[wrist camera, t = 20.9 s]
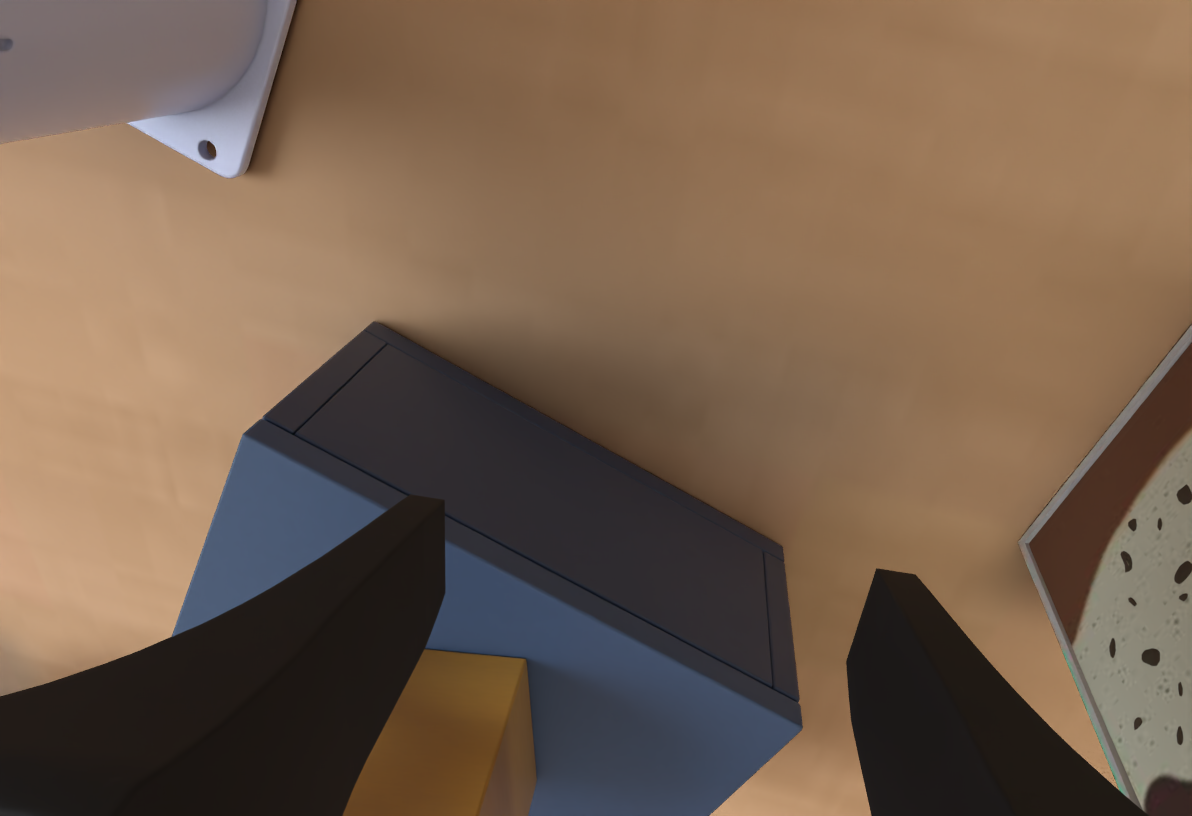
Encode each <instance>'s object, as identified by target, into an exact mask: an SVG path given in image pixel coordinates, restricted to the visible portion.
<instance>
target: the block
mask: <svg viewBox="0 0 1192 816" xmlns="http://www.w3.org/2000/svg"><path fill="white" fill-rule="evenodd" d="M536 782H537V776H536V764H535V753H534V741H533V729H532V718H531V706H530V694H529V683H528V671H527V661H526V659H523V658H513V657H503V656H493V655H482V654H472V653H462V652H452V651H441V650H431V649H424V651H423V653H422V655H421V657H420V659H419V661H418V663H417V665H416V667H415V669H414V670H413V672H412V674H411V676H410V678H409V680H408V682H407V684H406V686H405V688H404V690H403V692H402V694H401V696H400V697H399V699H398V701H397V703H396V705H395V707H394V709H393V711H392V713H391V715H390V716H389V718H388V720H387V722H386V724H385V726H384V728H383V730H382V732H381V734H380V736H379V737H378V739H377V741H376V743H375V745H374V747H373V749H372V751H371V753H370V755H369V757H368V758H367V760H366V763H365V765H364V767H363V769H362V771H361V773H360V775H359V777H358V780H357V782H356V784H355V786H354V788H353V791H352V793H351V796H350V798H349V801H348V803H347V806H346V808H345V811H344V813H343V816H528V814H529V810H530V806H531V802H532V798H533V794H534V790H535V786H536Z"/></svg>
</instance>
